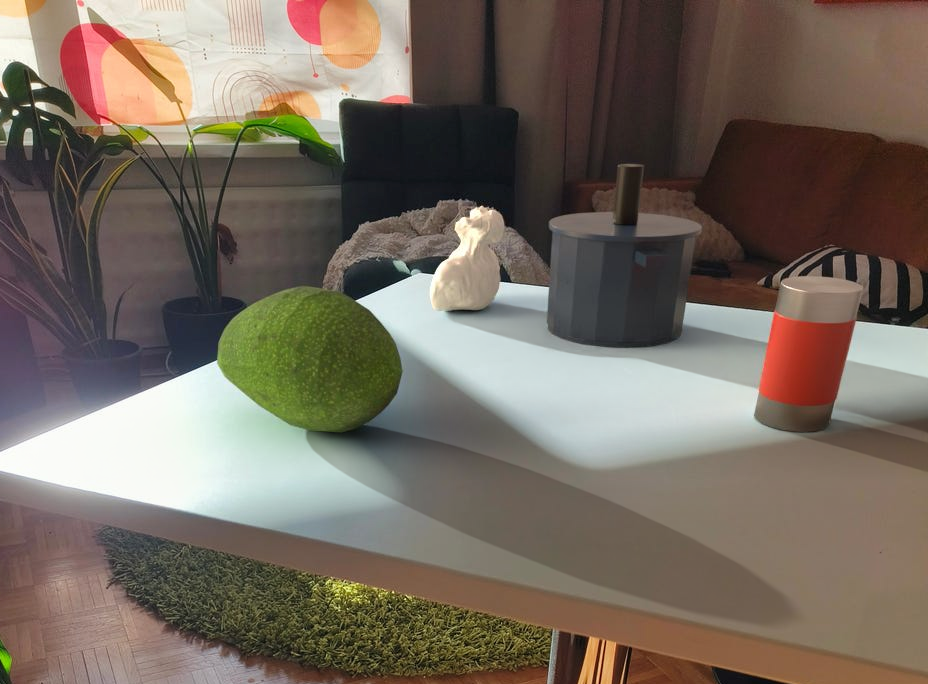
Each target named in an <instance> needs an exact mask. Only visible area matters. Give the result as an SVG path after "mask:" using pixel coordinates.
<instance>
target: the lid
mask: <svg viewBox="0 0 928 684" xmlns="http://www.w3.org/2000/svg"><path fill="white" fill-rule="evenodd" d="M644 168H645V165H644V164H638V163H621V164H618V165H617V169H616V182H615V190H614V191H615V192H614V201H613V211H599V212H597V211H596V212H578V213H570V214H564V215H559V216H556V217H553V218H551V219H550V220H549V221H548V229H549V230H550V231H551V232H552V233H553V232H555V233H558V234H561V235H565V236H569V237H575V238H580V239H588V240H597V241H609V242H632V243H647V242H669V241H678V240H685V239H690V238H693V237H698V236H700V235H701V234H702V230H703V226H702V224H700V223H699V222H697V221H695V220H691V219H687V218H685V217H678V216H673V215H666V214H657V213H645V212H640V204H641V196H642V195H641V194H642V188H643V187H642V185H643V177H644Z"/></svg>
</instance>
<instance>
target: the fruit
mask: <svg viewBox="0 0 928 684" xmlns="http://www.w3.org/2000/svg"><path fill="white" fill-rule="evenodd" d="M216 364H217V366H218V367H219V369H220V371H221V373H222V375H223V376H224V378H225V379H227V380H228V381H229V382H230V383H231V384H232V385H234V386H235V387H236V388H237V389H238V390H239V391H241V392H242V393H243V394H244V395H245V396H247V398H249V399H250V400H251V401H253V402H254V403H255V404H256V405H258V406H259V407H260V408H262V409H263V410H265V411H267V412H268V413H270V414H272V415H273V416H275V417H277V418H278V419H280V420H281V421H283V422H285V423H286V424H287V425H289V426H293V427H297V428H300V429H303V430H305V431H312V432H313V431H315V432H329V433H333V432H334V433H345V432H348V431H353V430H355V429H358V428H360V427H361V426H363V425H365V424H367V423H369V422H371V421H372V420H373V419H375V418H376V417H377V416H379V415H380V414H381V413H382V412H383V411H385V410H386V408H387V407H389V406H390V404H391V403H392V401H393V400H394V399H395V397H396V396H397V394H398V391H399V388H400V383H401V380H402V376H403V371H404V370H403V365H402V359H401V356H400V352H399V349H398V346H397V343H396V341H395V339H394V338H393V336H392V335H391V333H390V332H389V331H388V330H387V328H386V327H385V326H384V325H383V323H382V322H381V321H380V319H378V318H377V316H376V315H375V314H374V313H373V312H372V311H371V309H369V308H367V307H365V306H364V305H362V304H361V303H359V302H358V301H356V300H355V299H353V298H351V297H350V296H348V295H346V294H344V293H343V292H341V291H339V290H332V289H325V288H320V287H314V286H308V285H300V286H296V287H290V288H287V289H284V290H281V291H278V292H276V293H273V294H270V295H268V296H266V297H264V298H262V299H260V300H258V301H256V302H253V303H252V304H251V305H249V306H247V307H245V309H243V310H241V311H240V312H239V313H237V314H236V315H235V316H234V317H233V318H232V319H230V321H229V322H228V323H227V325H226V326H225V328H224V329H223V332H222V333H221V336H220V338H219V341H218V346H217V359H216Z"/></svg>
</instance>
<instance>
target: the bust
mask: <svg viewBox="0 0 928 684" xmlns="http://www.w3.org/2000/svg"><path fill="white" fill-rule="evenodd" d="M469 215H470V216H469V217H467V216H463V217H461V218H460V219H459V220H458V221H456V222H455V226H454V231H455V232H456V234H457V237H459V239H460V244H459V245H458V247H457V248H456V249H454V251H452V253H451V254H450V255H449V257H448V258H447V259H445V260H444V261H442V262H441V263H440V264H439V265H438V267H437V268H436V270H435V272H434V275H433V277H432V281H431V284H430V288H429V297H430V301H431V306H432V308H433V309H434V310H435V311H437V312H444V311H447V312H451V311H458V310H460V311H461V310H465V311H466V310H467V311H468V310H471V311H479V310H484V309H485V308H486V307H487V306H489V305H490V304H491V303H492V302H493V301H494V300H495V298H496V295H497V293H498V291H499V289H500V282H501V280H502V279H501V274H500V270H501V266H500V263H499V262H500V261H499V259H498V256H497V254H496V252H495V251H494V250H493V249H492V248H491V247H490V246H489V245H490V244H499V242H501V240H502V239H503V237H504V232H505V220H504V218H503V215H502V214H501V213H500V212H498V211H497V210H495V209H488V207H484V205H481V206H479V207H477V206H476V207H475V208H474V209H471V210H470V212H469Z"/></svg>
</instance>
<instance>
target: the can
mask: <svg viewBox="0 0 928 684" xmlns="http://www.w3.org/2000/svg"><path fill="white" fill-rule="evenodd" d="M779 284H780V285H779V290H778V294H777V298H776V299H777V300H776V304H775V308H774V311H773V316H772V322H771V326H770V330H769V335H768V340H767V346H766V350H765V351H766V352H765V356H764V361H763V365H762V371H761V375H760V380H759V385H758V394H757V399H756V404H755V409H754V413H753V416H754V419H755V420H756V421H757V422H758V423H761V424H762V425H764V426H767V427H770V428H773V429H776V430H782V431H786V432H787V431H788V432H796V433H797V432H798V433H806V432H807V433H810V432H818V431H822V430H825V429H826V428H828V427H829V426H830V423H831V419H832V415H833V411H834V407H835V403H836V400H837V398H838V395H839V390H840V386H841V383H842V379H843V374H844V370H845V366H846V363H847V358H848V355H849V350H850V347H851V342H852V338H853V334H854V332H855V331H854V330H855V326H856V323H857V318H858V312H859V308H860V304H861V299H862V296H863V292H864V286H863V285H861V284H860V283H857V282H856V281H852V280H848V279H843V278H839V277H838V278H836V277H830V276H819V275H818V276H817V275H815V276H814V275H801V276H799V275H798V276H790V277H786V278H783V279H782V280H781V282H780V283H779Z"/></svg>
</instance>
